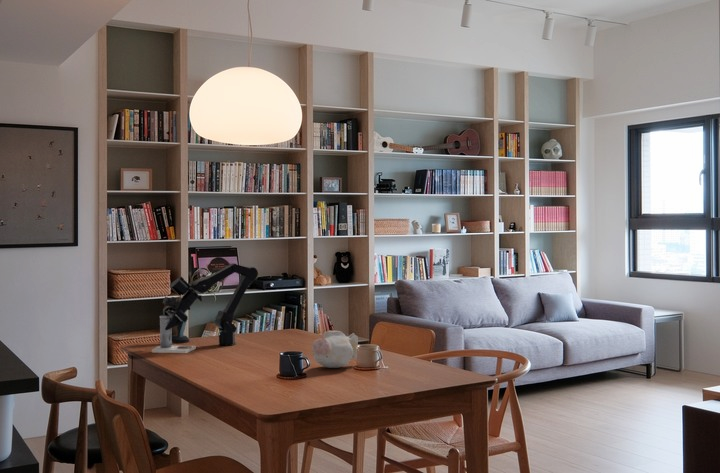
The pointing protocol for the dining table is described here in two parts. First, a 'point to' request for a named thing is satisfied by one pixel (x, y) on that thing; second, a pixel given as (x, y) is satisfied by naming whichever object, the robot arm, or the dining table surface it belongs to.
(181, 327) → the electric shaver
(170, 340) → the metal tumbler
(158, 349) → the dial scale
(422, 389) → the dining table surface
